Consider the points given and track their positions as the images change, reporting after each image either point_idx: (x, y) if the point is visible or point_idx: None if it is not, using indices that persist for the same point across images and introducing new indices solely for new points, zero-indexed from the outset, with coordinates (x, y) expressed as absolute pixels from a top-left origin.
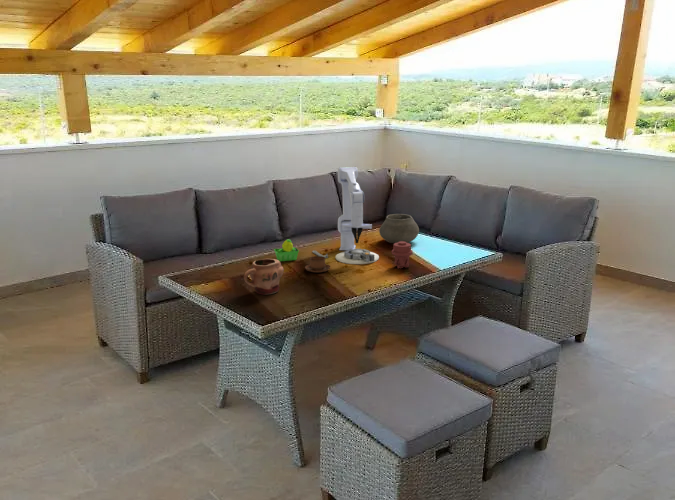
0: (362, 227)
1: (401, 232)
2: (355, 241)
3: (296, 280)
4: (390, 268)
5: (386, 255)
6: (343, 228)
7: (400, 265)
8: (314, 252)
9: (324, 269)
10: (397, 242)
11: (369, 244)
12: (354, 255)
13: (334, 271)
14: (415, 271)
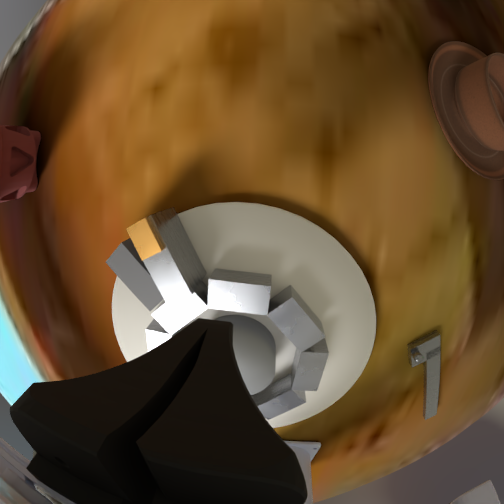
0: (8, 470)
1: None
2: (229, 331)
3: (499, 20)
4: (64, 125)
5: (95, 355)
6: (476, 492)
7: (22, 126)
8: (437, 399)
9: (449, 106)
10: None
11: None
12: (257, 287)
13: (395, 62)
14: (6, 108)
